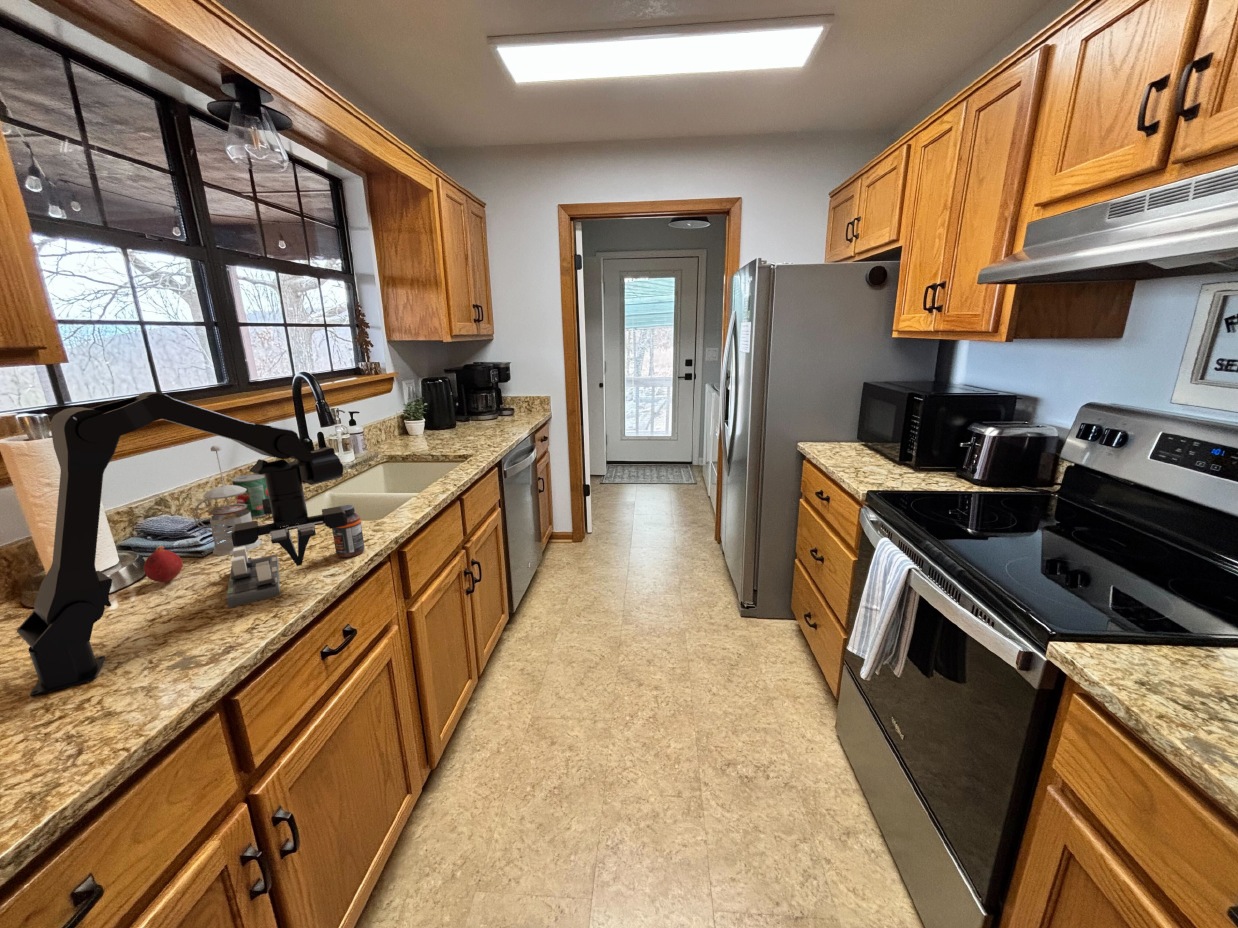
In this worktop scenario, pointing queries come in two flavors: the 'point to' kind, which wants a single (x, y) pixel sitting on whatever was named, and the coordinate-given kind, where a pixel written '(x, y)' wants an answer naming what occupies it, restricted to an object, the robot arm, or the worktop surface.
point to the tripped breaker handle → (264, 574)
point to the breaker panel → (253, 584)
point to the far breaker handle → (242, 554)
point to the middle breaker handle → (239, 568)
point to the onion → (163, 565)
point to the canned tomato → (252, 493)
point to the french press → (223, 511)
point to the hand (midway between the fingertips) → (299, 564)
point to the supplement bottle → (349, 535)
